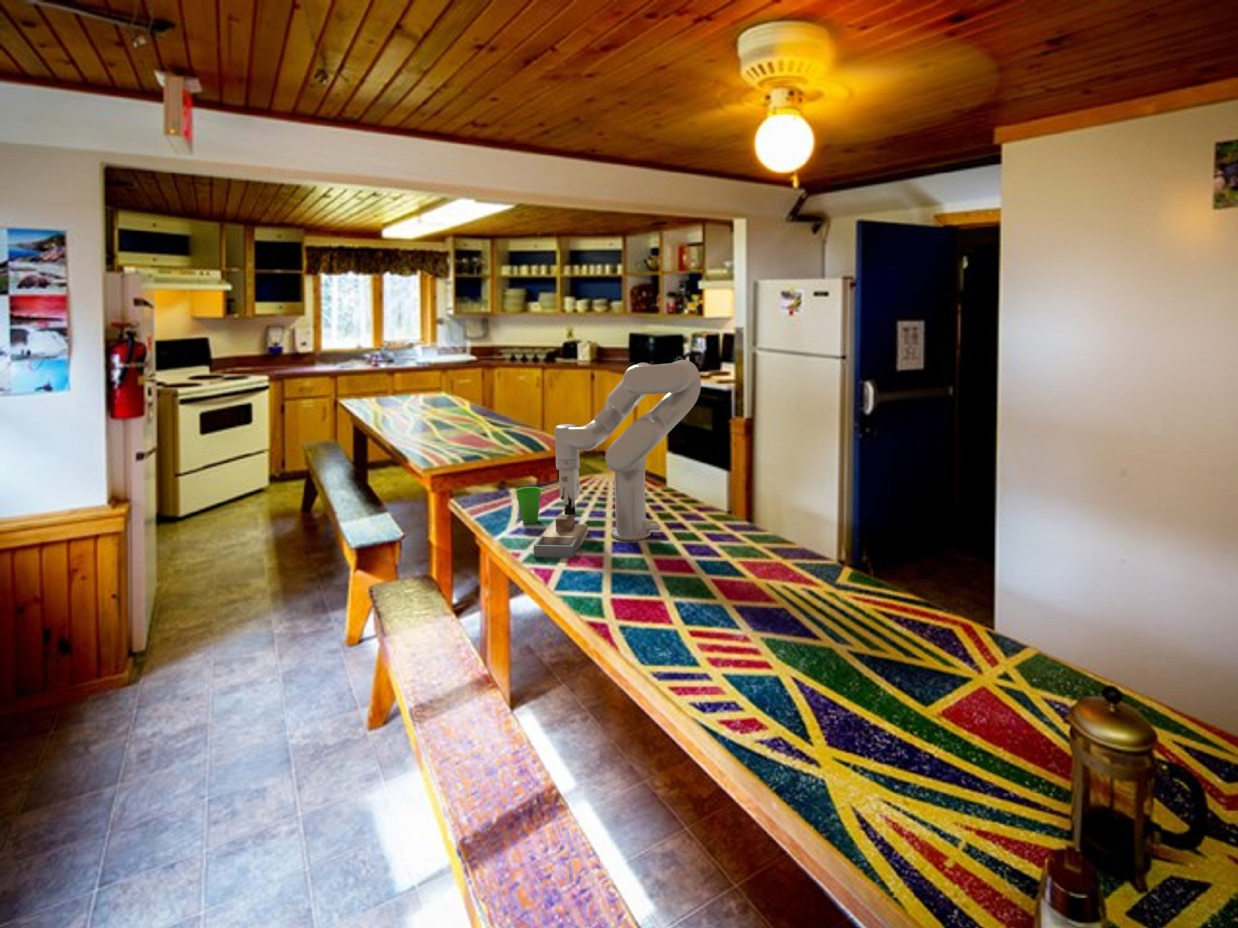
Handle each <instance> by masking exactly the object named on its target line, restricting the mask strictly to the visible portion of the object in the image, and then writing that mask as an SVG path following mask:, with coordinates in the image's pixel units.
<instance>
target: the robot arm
mask: <svg viewBox="0 0 1238 928" xmlns="http://www.w3.org/2000/svg"><path fill="white" fill-rule="evenodd" d="M701 387H702V379H701V374H700V372H699V369H698V368H697V366H696V365H695V363H693V362H691V361H690V360H686V359H679V360H676V361H673V362H671V363H660V364H658V363H657V364H650V363H648V362H640V363H639V362H638V363H637V364H633V365H631V366H630V367H628V368H627V370H625V372H624V374H623V377H622V380H620V382H619V383H618V384H617V385H615V388H614V389H612V391H611V392H610V393H609V394H608V395H607V397H606V403H605V405H604V407H603V408H602V409H601V410H600V412H598V414H597V415H596V416H594V418H593V419H592V420H591V421H590V422H589V423H587V424H586V425H582V426H578V425H576V424H571V423H564V424H563V423H562V424H559V425H556V426H555V428H554V447H555V466H556V470H558V471H559V472H558V473H559V475H558V479H559V480H558V481H559V482H558V485H559V486H558V487H559V488H558V489H559V499H560V500H561V501H563V505H564V506H563V507H564V515H574V516H575V518H576V499H578V497H580V496H579V495H580V494H581V483H580V473H579V469H580V468H581V465H580V464H581V463H580V462H581V461H580V456H581V455H580V451H592V450H594V449H595V448H597V447H598V446H600V445H601V444H603V443H604V442H605V441H606V440H607V439H609V438H610V436H611V435H612V434H613V433H614V432H615V430H617V428H619V426H620V425H621V424H622V423H623V421H624V420H625V419H626V418H628V416H629V415H631V412H632V411H633V410H634V409H636V407H637V406H638V405H639V404H640V403H641V401H642V400H643V399H644V398H645V397H646V396H647V395H660V394H665V395H664V396H663V397H662V398H661V399H660V400H659V402H657V404H656V405H654V407H652V409H650V410H649V411H648V412H647V413H645V414H643V415H642V416H640V417H639V418H637V419H636V420H635V421H633V423H631V425H629V427H627V428H626V429H625V430H624V431H623V432H622V433H621V435H619V436H618V438H616V439H615V440H614V442H612V443H611V444H610V445H609V446H608V448H607V450H606V452H605V464H606V466H607V467H608V468H609V470H611V471H612V472H614V509H615V510H614V511H615V513H614V514H615V527H613V528H612V529H611V531H610V535H611V537H612V538H614V539H617V540H620V541H621V540H622V541H637V540H644V539H646V538H648V537H650V536H651V534H652V533H651V532H652V531H659V532H660V530H661V529H660V528H661V525H660V524H659V523H657V522H649V521H648V518H647V517H646V463H647V455H649V453H651V452H652V450H654V449H655V448H656V446H658V445H659V444H660V443H661V442H662V441H663V440H664V439H665V437H666V436H667V435H668V434H669V433H670V432H671V431H672V430H673V429H674V428H675V426H676V425H677V424H679V422H681V421H682V419H683V418H684V417H685V416H687V414H688V413H689V412H690V411H691V410H692V408H694V406H695V404H696V403H697V401H698V399H699V396H700V393H701V389H702V388H701Z"/></svg>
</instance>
